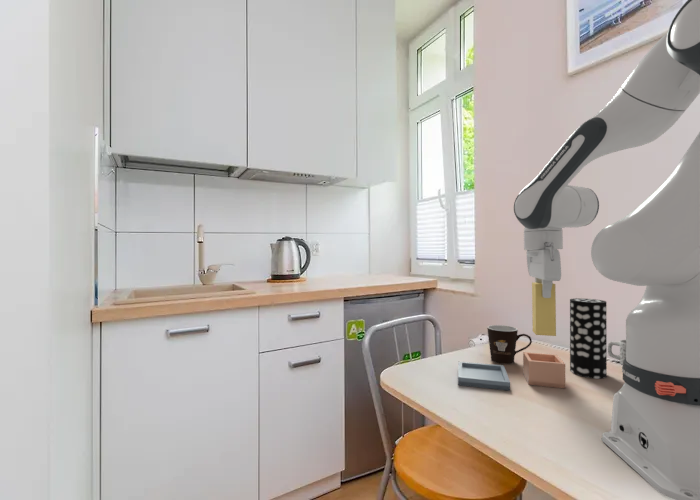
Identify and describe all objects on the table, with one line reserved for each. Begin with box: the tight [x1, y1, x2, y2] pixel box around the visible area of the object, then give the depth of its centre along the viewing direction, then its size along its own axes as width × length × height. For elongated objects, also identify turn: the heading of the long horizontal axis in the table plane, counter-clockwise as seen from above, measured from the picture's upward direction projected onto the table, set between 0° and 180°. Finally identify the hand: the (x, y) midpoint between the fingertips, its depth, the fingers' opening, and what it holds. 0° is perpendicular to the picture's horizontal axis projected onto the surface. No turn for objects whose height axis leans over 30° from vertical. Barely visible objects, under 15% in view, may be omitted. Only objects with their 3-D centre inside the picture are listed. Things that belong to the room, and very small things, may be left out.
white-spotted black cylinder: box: [569, 297, 608, 379], centre depth 96 cm, size 8×8×20 cm
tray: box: [457, 361, 511, 392], centre depth 93 cm, size 13×12×2 cm
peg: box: [531, 281, 557, 337], centre depth 91 cm, size 4×4×13 cm
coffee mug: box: [486, 324, 533, 365], centre depth 106 cm, size 12×9×10 cm
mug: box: [607, 339, 626, 366], centre depth 105 cm, size 10×7×7 cm, turn 32°
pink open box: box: [522, 351, 566, 389], centre depth 91 cm, size 8×8×6 cm
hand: (543, 296), depth 91 cm, fingers closed on peg, 4 cm apart
